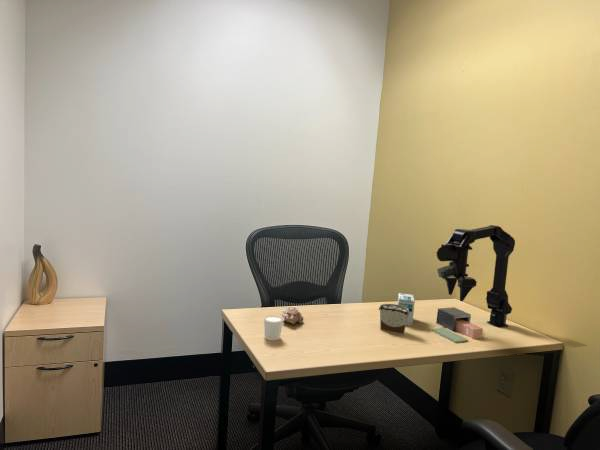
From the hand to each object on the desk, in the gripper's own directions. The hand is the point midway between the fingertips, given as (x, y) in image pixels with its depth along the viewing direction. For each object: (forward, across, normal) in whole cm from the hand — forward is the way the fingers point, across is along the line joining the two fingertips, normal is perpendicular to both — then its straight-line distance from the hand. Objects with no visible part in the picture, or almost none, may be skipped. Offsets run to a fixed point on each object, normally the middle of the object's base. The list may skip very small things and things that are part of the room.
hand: (455, 297), depth 190 cm
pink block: (+14, +2, +5) cm, 15 cm away
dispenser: (+14, -5, +3) cm, 15 cm away
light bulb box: (+14, -12, -16) cm, 24 cm away
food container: (+14, 0, -26) cm, 29 cm away
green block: (+14, +6, -4) cm, 16 cm away
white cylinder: (+14, +9, -76) cm, 78 cm away
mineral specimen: (+14, -8, -66) cm, 68 cm away
